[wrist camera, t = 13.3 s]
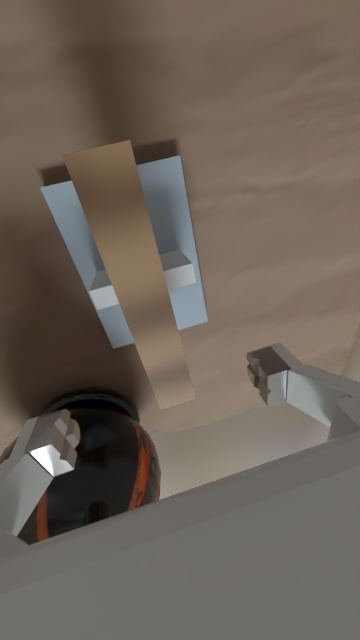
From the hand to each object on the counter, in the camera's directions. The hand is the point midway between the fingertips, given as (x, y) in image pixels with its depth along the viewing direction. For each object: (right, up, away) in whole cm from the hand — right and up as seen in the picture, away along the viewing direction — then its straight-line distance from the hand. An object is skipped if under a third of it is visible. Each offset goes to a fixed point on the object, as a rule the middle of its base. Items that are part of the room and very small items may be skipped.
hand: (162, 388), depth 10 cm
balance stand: (-4, +10, +19) cm, 21 cm away
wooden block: (-3, +6, +12) cm, 13 cm away
